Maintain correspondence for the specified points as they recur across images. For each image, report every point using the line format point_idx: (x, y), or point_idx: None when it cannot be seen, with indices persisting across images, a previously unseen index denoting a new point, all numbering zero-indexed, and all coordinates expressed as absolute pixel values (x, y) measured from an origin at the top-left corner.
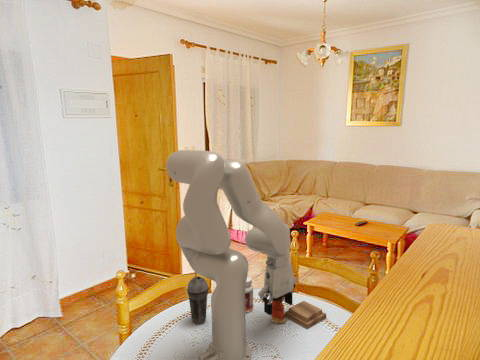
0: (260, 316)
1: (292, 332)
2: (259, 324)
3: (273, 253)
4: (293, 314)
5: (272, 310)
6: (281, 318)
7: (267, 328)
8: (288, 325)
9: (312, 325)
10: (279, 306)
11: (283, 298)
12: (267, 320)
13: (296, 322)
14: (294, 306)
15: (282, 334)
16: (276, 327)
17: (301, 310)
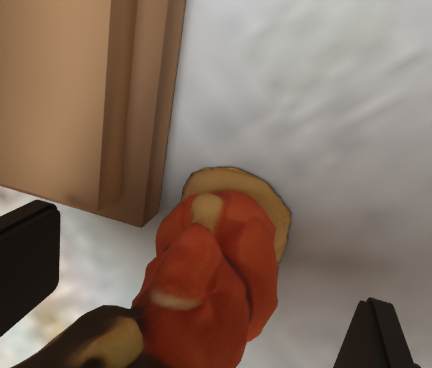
0: (275, 360)
1: (330, 25)
2: None
3: None
4: (121, 140)
5: (259, 326)
6: (254, 201)
7: (403, 249)
8: (249, 120)
9: None
10: (217, 294)
11: (116, 334)
12: (291, 297)
13: (172, 79)
14: (33, 180)
15: (421, 88)
16: (342, 192)
17: (37, 83)
